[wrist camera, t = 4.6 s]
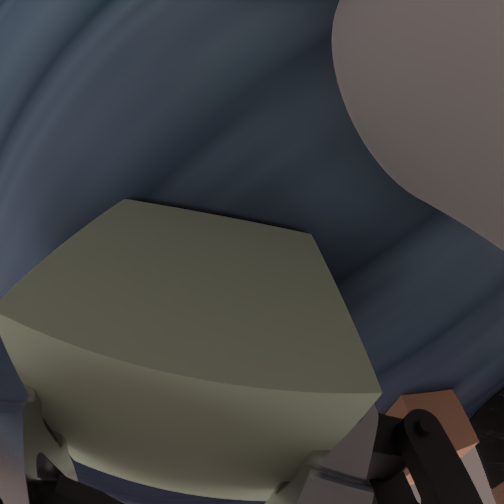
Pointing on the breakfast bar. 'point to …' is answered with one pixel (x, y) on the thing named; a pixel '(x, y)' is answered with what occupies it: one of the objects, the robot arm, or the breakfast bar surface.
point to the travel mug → (492, 443)
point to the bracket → (430, 99)
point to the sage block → (189, 350)
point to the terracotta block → (439, 418)
